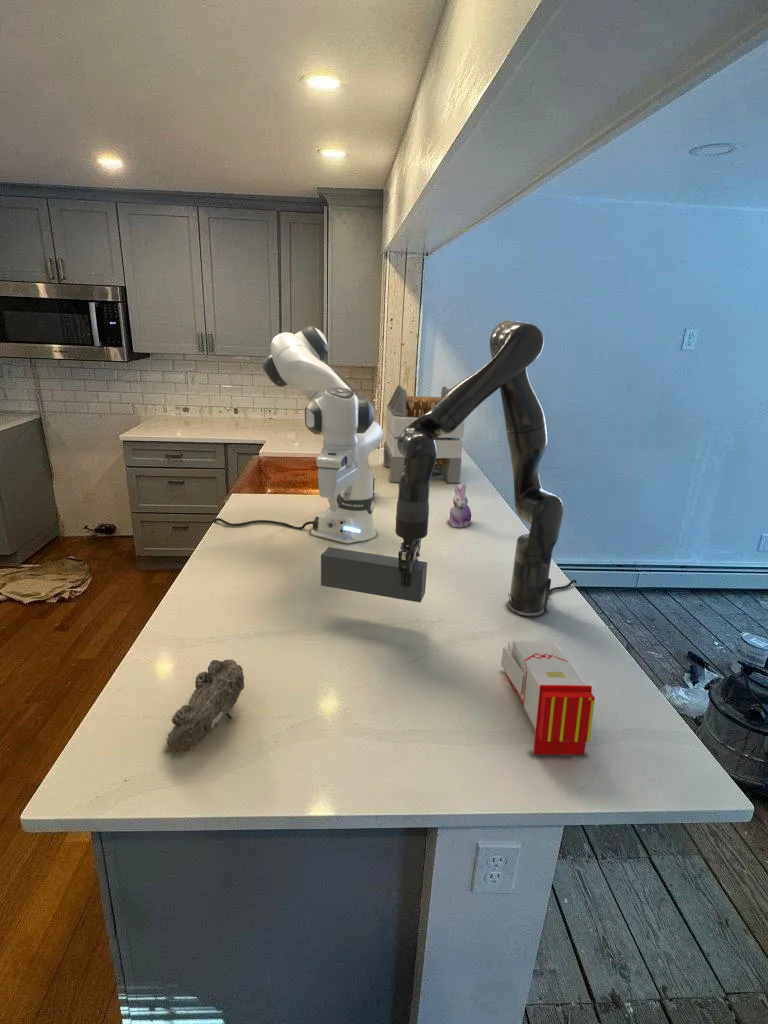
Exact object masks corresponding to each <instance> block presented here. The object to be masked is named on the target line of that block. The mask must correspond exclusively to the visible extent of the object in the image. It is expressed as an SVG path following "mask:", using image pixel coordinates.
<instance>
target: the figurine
mask: <svg viewBox="0 0 768 1024" xmlns="http://www.w3.org/2000/svg"><path fill="white" fill-rule="evenodd" d="M453 488H454V496H453V498H452V503H453V506H452V507H451V508H450V511H449V518H448V519H449V520H448V523H449V524H450V525H451V527H454V528H464V527H468V526H469V525H470V524H471V520H472V511H471V508H470V506H469V505H468V503H469V499H468V497H467V495H466V490H467V484H465V483H464V484H463V485H462V486H461V488H459V486H458V485H457V484H454V487H453Z"/></svg>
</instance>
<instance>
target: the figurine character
mask: <svg viewBox="0 0 768 1024" xmlns="http://www.w3.org/2000/svg"><path fill="white" fill-rule="evenodd" d="M375 481H376V479H375V477H373V496H374V497H375V495H376V494H375Z"/></svg>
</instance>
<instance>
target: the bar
mask: <svg viewBox="0 0 768 1024" xmlns="http://www.w3.org/2000/svg"><path fill="white" fill-rule="evenodd" d="M404 568H407V567H406V566H404ZM398 570H399V557H396V556H389V555H384V554H377V553H371V552H370V553H369V552H363V551H357V550H351V549H345V548H337V547H331V546H328V547H327V548H326V549H325V550H324V551H323V552H322V553H321V554H320V586H322V587H326V588H332V589H337V590H343V591H344V590H346V591H351V592H356V593H362V594H369V595H373V596H374V595H375V596H379V597H386V598H391V599H397V600H402V601H407V602H408V601H409V602H415V603H422V600H423V598H424V596H425V594H426V586H427V585H426V584H427V574H428V561H422V560H418V561H416V560H415V563H414V564H412V572H411V583H410V587H402V586H401V573H399V571H398Z"/></svg>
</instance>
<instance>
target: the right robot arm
mask: <svg viewBox="0 0 768 1024" xmlns="http://www.w3.org/2000/svg"><path fill="white" fill-rule="evenodd" d="M544 343H545V337H544V334H543V332H542V330H541V328H539V327H538V326H537V325H535V324H533V323H530V322H524V321H516V320H503V321H501V322H499V323H497V325H495V327H493V330H492V331H491V334H490V337H489V352H490V356H491V359H490V360H489V361H488V362H487V363H486V364H485V365H484V366H483V367H481V368H480V369H478V370H477V371H475V372H474V373H472V374H471V375H469V376H467V377H466V378H464V379H463V380H461V381H460V382H458V383H457V384H455V385H454V386H452V387H451V388H449V389H450V390H449V391H448V392H447V393H446V394H445V395H444V396H443V397H442V398H441V399H440V400H439V401H438V402H437V403H436V404H435V405H434V406H433V407H432V408H431V410H430V411H428V412H427V413H425V414H424V415H422V416H421V417H419V418H418V419H417V420H415V421H414V422H412V423H411V424H410V425H409V426H407V427H406V428H405V429H404V430H403V432H402V433H401V434H400V436H399V438H398V441H397V447H398V450H399V452H400V453H401V454H402V455H403V456H404V457H405V458H406V465H405V466H404V470H403V473H402V474H401V475H400V478H399V482H398V492H397V493H398V495H397V501H396V509H395V510H396V512H395V515H396V516H395V529H394V531H395V534H396V536H398V537H399V538H401V539H402V540H403V541H402V542H400V548H399V549H400V550H399V551H398V553H397V556H398V558H399V570H398V571H399V573H401V586H402V587H410V583H411V572H412V564H414V563H415V560H416V561H419V558H420V556H421V545H422V539H424V538H426V537H427V536H428V531H429V529H428V528H429V514H430V501H429V500H430V486H431V484H430V481H431V478H432V475H433V472H434V468H435V466H434V465H435V461H436V455H437V449H436V443H435V441H434V440H435V439H436V438H438V437H439V436H440V435H445V434H450V433H451V432H453V431H454V430H455V429H456V428H457V427H458V426H459V425H460V424H461V423H462V422H463V421H464V420H466V419H468V417H469V416H470V415H471V414H472V413H473V411H475V410H476V409H477V408H478V407H479V406H480V405H481V404H482V403H483V402H484V401H486V400H487V399H488V398H489V397H490V396H491V395H492V394H494V393H495V392H496V391H498V390H499V391H500V399H501V404H502V410H503V416H504V422H505V430H506V431H505V432H506V438H507V444H508V447H509V448H508V449H509V454H510V455H509V456H510V462H511V469H512V477H513V497H514V499H513V500H514V508H515V512H516V514H517V516H518V518H519V519H521V520H523V521H524V522H526V523H527V524H529V525H530V528H529V531H528V533H526V534H525V533H524V534H521V535H520V536H519V535H518V538H517V539H516V545H515V553H514V560H513V561H514V562H513V567H512V574H511V575H512V576H511V582H510V591H508V593H507V596H508V603H507V607H508V609H509V610H510V611H511V612H513V613H514V614H516V615H520V616H523V617H538V616H541V615H543V614H544V612H547V609H548V602H549V597H550V594H551V593H552V592H553V591H558V590H564V589H567V588H569V587H571V585H573V583H575V584H577V583H578V581H577V580H576V579H572V580H570V582H568V583H567V584H566V585H562V586H556V587H552V588H551V585H552V584H551V583H552V579H551V577H549V576H550V571H551V570H550V569H551V563H552V558H553V557H552V556H553V551H554V547H555V546H556V544H557V542H558V539H559V535H560V530H561V525H562V521H563V516H564V504H563V501H562V499H561V498H560V497H558V496H557V495H555V494H553V493H551V492H548V491H547V490H544V489H543V487H542V484H541V478H540V470H539V469H540V468H539V467H540V464H541V462H542V461H541V460H542V458H543V456H544V454H545V452H546V449H547V445H548V430H547V423H546V417H545V413H544V410H543V407H542V405H541V403H540V401H539V399H538V398H537V395H536V393H535V391H534V389H533V387H532V384H531V383H530V382H531V381H530V380H529V375H528V371H527V368H528V367H529V366H530V365H532V363H534V362H535V361H536V360H537V359H538V358H539V356H540V355H541V354H542V351H543V349H544ZM464 422H465V421H464ZM404 566H406V567H407V568H404Z"/></svg>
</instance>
